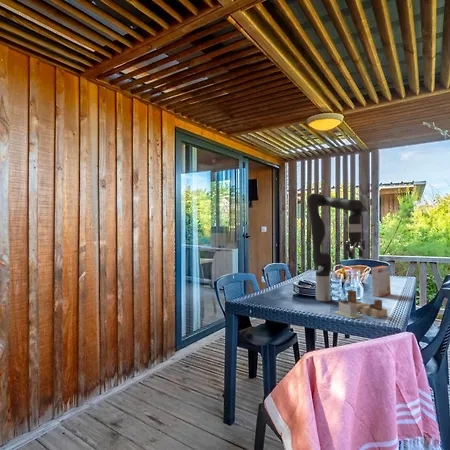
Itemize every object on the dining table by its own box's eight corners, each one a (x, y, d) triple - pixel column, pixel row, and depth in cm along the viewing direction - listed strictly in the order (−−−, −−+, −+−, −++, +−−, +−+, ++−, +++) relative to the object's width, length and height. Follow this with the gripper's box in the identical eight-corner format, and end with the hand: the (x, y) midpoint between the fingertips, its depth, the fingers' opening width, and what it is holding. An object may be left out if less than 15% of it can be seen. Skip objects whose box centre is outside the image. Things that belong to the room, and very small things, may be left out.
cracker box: (383, 293, 235) (382, 265, 235) (391, 294, 230) (390, 266, 230) (371, 295, 228) (371, 267, 228) (379, 297, 223) (378, 268, 223)
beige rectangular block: (339, 312, 187) (338, 300, 187) (345, 311, 189) (345, 299, 189) (350, 316, 179) (350, 303, 179) (357, 314, 181) (356, 302, 181)
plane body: (344, 308, 198) (344, 290, 198) (354, 306, 201) (353, 289, 201) (377, 318, 176) (376, 298, 176) (387, 316, 179) (386, 297, 179)
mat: (333, 312, 189) (333, 311, 189) (344, 310, 192) (344, 309, 192) (351, 318, 176) (351, 317, 176) (363, 316, 180) (363, 315, 180)
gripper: (358, 231, 204) (359, 255, 204) (341, 231, 198) (342, 257, 198) (367, 231, 197) (368, 256, 197) (350, 231, 191) (351, 258, 191)
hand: (355, 257), depth 198 cm, fingers open, 8 cm apart
